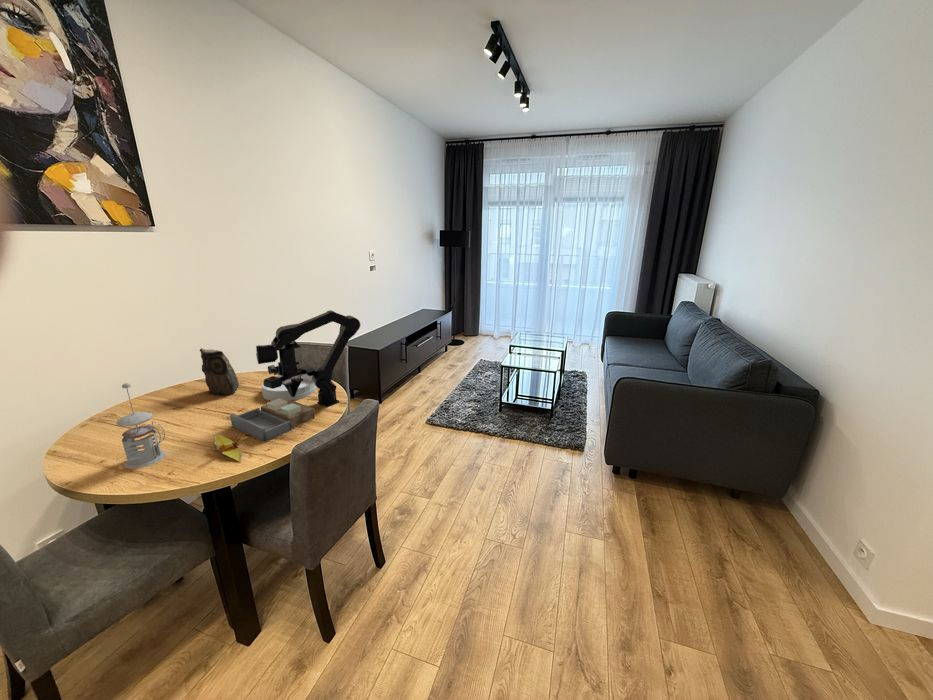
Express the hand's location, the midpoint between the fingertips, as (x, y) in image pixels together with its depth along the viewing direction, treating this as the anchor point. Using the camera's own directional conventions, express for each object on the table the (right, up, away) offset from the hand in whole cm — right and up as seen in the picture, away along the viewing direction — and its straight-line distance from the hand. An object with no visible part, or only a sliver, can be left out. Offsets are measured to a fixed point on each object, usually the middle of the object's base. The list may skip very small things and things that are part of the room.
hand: (293, 396), depth 143 cm
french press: (-29, -15, -33) cm, 46 cm away
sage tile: (+3, -4, -9) cm, 10 cm away
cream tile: (-3, -3, -5) cm, 7 cm away
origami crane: (-7, -14, -28) cm, 32 cm away
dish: (-11, -1, +20) cm, 22 cm away
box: (-5, -10, -13) cm, 17 cm away
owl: (-39, 0, +19) cm, 43 cm away
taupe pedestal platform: (0, -7, -4) cm, 8 cm away
